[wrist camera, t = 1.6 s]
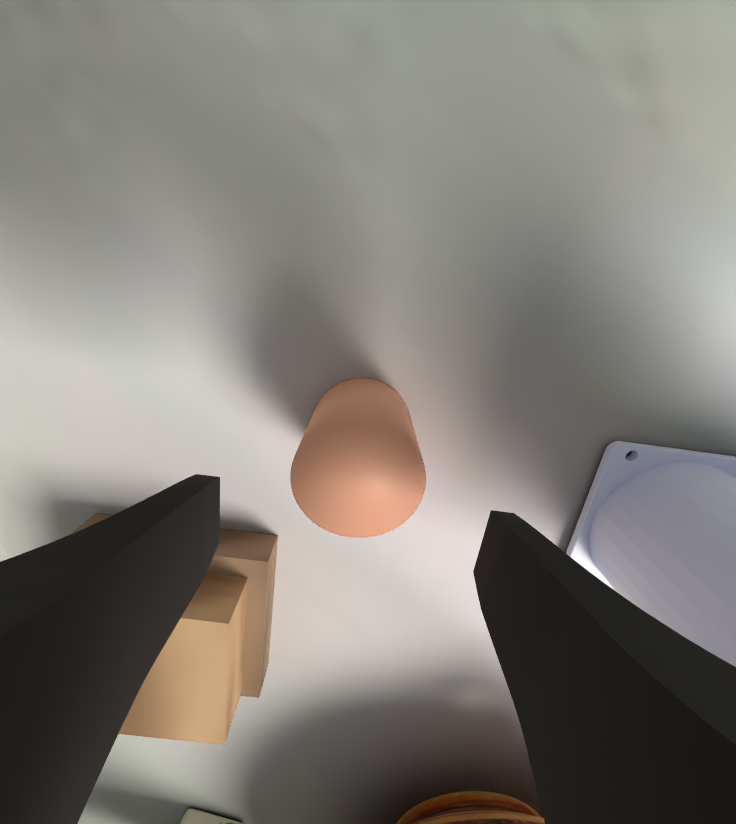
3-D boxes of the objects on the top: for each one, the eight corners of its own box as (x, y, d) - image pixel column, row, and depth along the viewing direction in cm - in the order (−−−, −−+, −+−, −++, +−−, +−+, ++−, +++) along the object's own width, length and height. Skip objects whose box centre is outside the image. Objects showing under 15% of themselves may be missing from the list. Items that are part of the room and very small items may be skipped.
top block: (248, 577, 17) (229, 623, 15) (241, 689, 20) (224, 745, 18) (83, 557, 17) (37, 601, 15) (97, 674, 20) (59, 727, 17)
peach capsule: (418, 385, 16) (437, 427, 12) (401, 474, 18) (412, 544, 13) (317, 371, 16) (295, 409, 11) (309, 462, 18) (285, 529, 13)
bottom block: (280, 527, 20) (268, 561, 17) (270, 653, 22) (259, 697, 20) (104, 506, 19) (66, 537, 17) (117, 636, 22) (87, 679, 20)
